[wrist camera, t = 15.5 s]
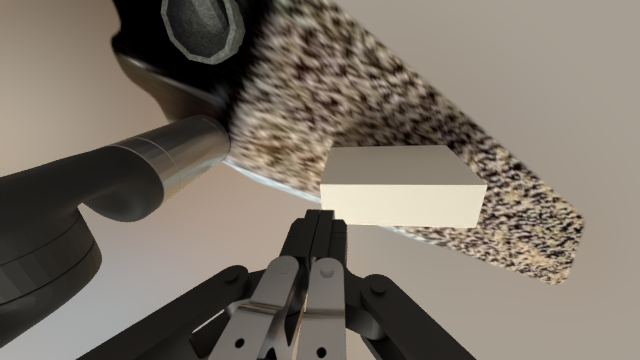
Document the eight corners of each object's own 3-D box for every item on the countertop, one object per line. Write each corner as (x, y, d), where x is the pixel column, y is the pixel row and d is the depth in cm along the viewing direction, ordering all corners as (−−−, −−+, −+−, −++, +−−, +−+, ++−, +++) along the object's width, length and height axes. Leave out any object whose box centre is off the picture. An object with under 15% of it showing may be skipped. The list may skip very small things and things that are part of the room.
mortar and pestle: (243, 75, 38) (199, 80, 27) (189, 43, 37) (122, 36, 26) (269, -2, 33) (227, -31, 22) (207, -41, 32) (133, -91, 21)
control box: (439, 177, 41) (475, 228, 29) (332, 177, 44) (323, 223, 32) (445, 145, 39) (487, 185, 26) (330, 147, 42) (320, 184, 29)
